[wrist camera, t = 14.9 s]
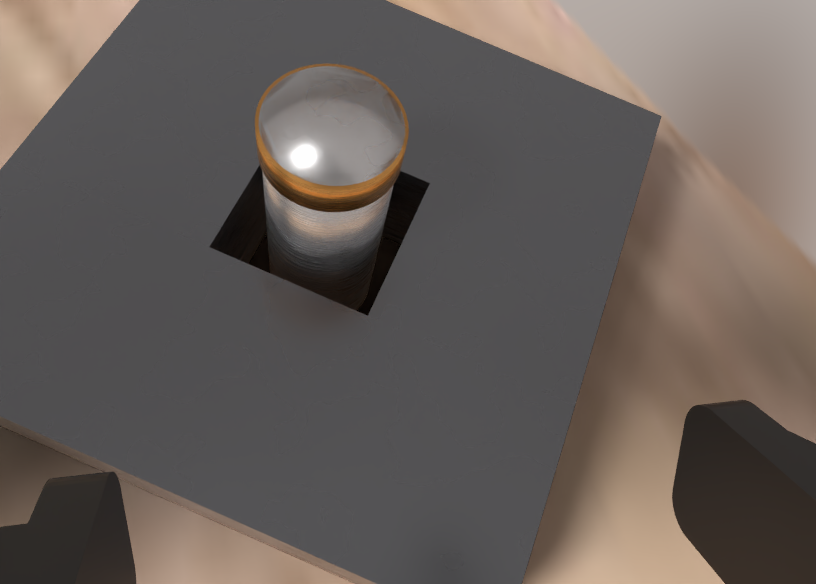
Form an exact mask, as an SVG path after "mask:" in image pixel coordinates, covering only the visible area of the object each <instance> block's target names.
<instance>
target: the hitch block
mask: <svg viewBox="0 0 816 584" xmlns="http://www.w3.org/2000/svg"><path fill="white" fill-rule="evenodd" d="M314 64H340V65H346V66H350V67H354V68H357V69H360V70H362V71H365V72H367V73H369V74H371V75H373V76H374V77H376V78H377V79H379V80H380V81H382V82H383V83H384V84H386V85H387V86H388V87H389V88H390V89H391V90H392V91H393V92H394V94H395V95H396V96H397V97H398V99H399V100H400V102H401V104H402V106H403V108H404V110H405V113H406V116H407V120H408V127H409V135H408V141H407V146H406V150H405V154H404V158H403V162H402V166H401V170H400V173H399V175H398V178H397V179H396V181H395V183H394V185H393V189H392V194H391V198H390V202H389V207H388V211H387V215H386V219H385V224H384V228H383V232H382V236H384V237H386V238H388V239H391V240H393V241H395V242H398V243H400V244H401V246H400V248H399V250H398V252H397V255H396V257H395V259H394V261H393V263H392V265H391V267H390V270H389V272H388V274H387V276H386V278H385V280H384V282H383V284H382V287H381V289H380V291H379V293H378V295H377V297H376V299H375V302H374V304H373V306H372V308H371V310H370V312H369V314H368V316H367V315H365V314H363V313H360V312H358V311H356V310H353V309H351V308H349V307H346V306H344V305H342V304H339V303H337V302H335V301H333V300H330V299H328V298H326V297H323V296H321V295H319V294H316V293H314V292H312V291H309V290H307V289H305V288H303V287H300V286H298V285H296V284H293V283H291V282H289V281H286V280H284V279H282V278H279V277H277V276H275V275H273V274H270V273H268V272H266V271H263V270H261V269H259V268H256V267H254V266H252V265H249V264H248V263H249V261H250V260H251V258H252V256H253V255H254V253H255V251H256V249H257V248H258V246H259V244H260V242H261V241H262V239H263V237H264V235H265V234H266V232H267V225H266V212H265V200H264V187H263V174H262V169H261V167H260V163H259V160H258V154H257V144H256V132H255V115H256V109H257V106H258V103H259V101H260V99H261V97H262V95H263V94H264V92H265V91H266V90H267V88H268V87H269V86H270V85H271V84H272V83H273V82H274V81H276V80H277V79H278V78H280V77H281V76H283V75H284V74H286V73H288V72H290V71H292V70H295V69H297V68H300V67H304V66H308V65H314ZM660 119H661V116H660V115H657V114H655V113H653V112H650V111H648V110H646V109H643V108H641V107H638V106H636V105H634V104H631V103H629V102H626V101H624V100H622V99H619V98H617V97H615V96H612V95H610V94H607V93H605V92H603V91H600V90H598V89H595V88H593V87H591V86H588V85H586V84H584V83H581V82H579V81H576V80H574V79H572V78H569V77H567V76H564V75H562V74H560V73H557V72H555V71H553V70H550V69H548V68H545V67H543V66H541V65H538V64H536V63H533V62H531V61H529V60H526V59H524V58H522V57H519V56H517V55H514V54H512V53H510V52H507V51H505V50H502V49H500V48H498V47H495V46H493V45H491V44H488V43H486V42H483V41H481V40H479V39H476V38H474V37H471V36H469V35H467V34H464V33H462V32H460V31H457V30H455V29H452V28H450V27H448V26H445V25H443V24H440V23H438V22H436V21H433V20H431V19H429V18H426V17H424V16H421V15H419V14H417V13H414V12H412V11H409V10H407V9H405V8H402V7H400V6H397V5H395V4H393V3H390V2H388V1H386V0H139V2H138V3H137V4H136V5H135V7H134V8H133V9H132V10H131V11H130V13H129V14H128V15H127V16H126V17H125V19H124V20H123V21H122V22H121V24H120V25H119V26H118V27H117V28H116V30H115V31H114V32H113V33H112V35H111V36H110V37H109V38H108V39H107V41H106V42H105V43H104V44H103V45H102V47H101V48H100V49H99V50H98V52H97V53H96V54H95V55H94V56H93V58H92V59H91V60H90V61H89V63H88V64H87V65H86V66H85V67H84V69H83V70H82V71H81V72H80V73H79V75H78V76H77V77H76V78H75V80H74V81H73V82H72V83H71V84H70V86H69V87H68V88H67V89H66V91H65V92H64V93H63V94H62V95H61V97H60V98H59V99H58V100H57V101H56V103H55V104H54V105H53V106H52V108H51V109H50V110H49V111H48V112H47V114H46V115H45V116H44V117H43V119H42V120H41V121H40V122H39V123H38V125H37V126H36V127H35V128H34V130H33V131H32V132H31V133H30V134H29V136H28V137H27V138H26V139H25V140H24V142H23V143H22V144H21V145H20V147H19V148H18V149H17V150H16V151H15V153H14V154H13V155H12V156H11V158H10V159H9V160H8V161H7V162H6V164H5V165H4V166H3V167H2V168H1V170H0V426H2V427H4V428H6V429H9V430H11V431H13V432H15V433H18V434H20V435H22V436H24V437H27V438H29V439H31V440H33V441H36V442H38V443H40V444H42V445H45V446H47V447H49V448H51V449H54V450H56V451H58V452H60V453H63V454H65V455H67V456H69V457H72V458H74V459H76V460H78V461H81V462H83V463H85V464H87V465H90V466H92V467H94V468H96V469H99V470H101V471H103V472H115V473H116V475H117V477H118V478H119V479H121V480H123V481H126V482H128V483H130V484H132V485H135V486H137V487H139V488H141V489H144V490H146V491H148V492H150V493H153V494H155V495H157V496H159V497H162V498H164V499H166V500H168V501H171V502H173V503H175V504H177V505H180V506H182V507H184V508H186V509H188V510H191V511H193V512H195V513H197V514H200V515H202V516H204V517H206V518H209V519H211V520H213V521H215V522H218V523H220V524H222V525H224V526H227V527H229V528H231V529H233V530H236V531H238V532H240V533H242V534H245V535H247V536H249V537H251V538H254V539H256V540H258V541H260V542H263V543H265V544H267V545H269V546H272V547H274V548H276V549H278V550H281V551H283V552H285V553H287V554H290V555H292V556H294V557H296V558H299V559H301V560H303V561H305V562H308V563H310V564H312V565H314V566H317V567H319V568H321V569H323V570H326V571H328V572H330V573H332V574H335V575H337V576H339V577H341V578H344V579H346V580H348V581H350V582H353V583H355V584H522V582H523V578H524V575H525V572H526V568H527V565H528V561H529V558H530V555H531V551H532V548H533V545H534V541H535V538H536V535H537V531H538V528H539V525H540V521H541V518H542V515H543V511H544V508H545V505H546V501H547V498H548V494H549V491H550V488H551V484H552V481H553V478H554V474H555V471H556V468H557V464H558V461H559V458H560V454H561V451H562V448H563V444H564V441H565V438H566V434H567V431H568V427H569V424H570V421H571V417H572V414H573V411H574V407H575V404H576V401H577V397H578V394H579V391H580V387H581V384H582V381H583V377H584V374H585V371H586V367H587V364H588V360H589V357H590V354H591V350H592V347H593V344H594V340H595V337H596V334H597V330H598V327H599V324H600V320H601V317H602V314H603V310H604V307H605V304H606V300H607V297H608V293H609V290H610V287H611V283H612V280H613V277H614V273H615V270H616V267H617V263H618V260H619V257H620V253H621V250H622V247H623V243H624V240H625V237H626V233H627V230H628V227H629V223H630V220H631V216H632V213H633V210H634V206H635V203H636V200H637V196H638V193H639V190H640V186H641V183H642V180H643V176H644V173H645V170H646V166H647V163H648V160H649V156H650V153H651V149H652V146H653V143H654V139H655V136H656V133H657V129H658V126H659V123H660Z"/></svg>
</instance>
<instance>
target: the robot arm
mask: <svg viewBox="0 0 816 584" xmlns="http://www.w3.org/2000/svg"><path fill="white" fill-rule="evenodd" d="M672 500H673V508H674V512H675V516H676V519H677V521H678V524H679V526H680V528H681V530H682V531H683V533H684V534H685V536H686V537H687V538H688V540H689V541H690V542H691V543H692V544H693V546H694V547H695V548H696V549H697V550H698V552H699V553H700V554H701V555H702V556H703V558H704V559H705V560H706V561H707V562H708V564H709V565H710V566H711V567H712V568H713V570H714V571H715V572H716V573H717V574H718V576H719V577H720V578H721V579H722V580H723V582H724V583H725V584H816V444H815V443H813V442H811V441H808V440H806V439H804V438H802V437H800V436H798V435H796V434H794V433H792V432H790V431H787V430H786V429H785V428H784V427H782V426H781V425H780V424H778V423H777V422H776V421H775V420H773V419H772V418H771V417H769V416H768V415H767V414H766V413H764V412H763V411H762V410H760V409H759V408H758V407H757V406H755V405H754V404H752V403H751V402H749V401H746V400H738V401H729V402H721V403H712V404H704V405H696V406H694V407H692V408H691V409H690V410H689V412H688V414H687V416H686V419H685V424H684V429H683V435H682V441H681V446H680V452H679V458H678V463H677V469H676V475H675V480H674V486H673V493H672ZM0 584H136V573H135V565H134V559H133V554H132V548H131V543H130V537H129V532H128V526H127V521H126V516H125V510H124V505H123V499H122V494H121V488H120V484H119V480H118V477H117V475H116V473H115V472H104V473H95V474H87V475H78V476H69V477H61V478H52V479H49V480H48V481H47V482H46V484H45V486H44V488H43V490H42V492H41V495H40V497H39V499H38V502H37V504H36V506H35V509H34V511H33V513H32V515H31V518H30V520H29V522H28V524H20V525H13V526H5V527H0Z"/></svg>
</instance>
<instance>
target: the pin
mask: <svg viewBox="0 0 816 584" xmlns="http://www.w3.org/2000/svg"><path fill="white" fill-rule="evenodd" d="M255 132H256V144H257V154H258V160H259V163H260V167H261V169H262V174H263V187H264V200H265V212H266V225H267V238H268V251H269V264H270V274H273V275H275V276H277V277H279V278H282V279H284V280H286V281H289V282H291V283H293V284H296V285H298V286H300V287H303V288H305V289H307V290H309V291H312V292H314V293H316V294H319V295H321V296H323V297H326V298H328V299H330V300H333V301H335V302H337V303H339V304H342V305H344V306H346V307H349V308H351V309H353V310H357V309H358V308H359V307H360V306H361V305H362V303H363V302H364V300H365V299H366V297H367V294H368V292H369V287H370V283H371V279H372V275H373V270H374V266H375V262H376V258H377V253H378V249H379V245H380V241H381V236H382V232H383V228H384V224H385V219H386V215H387V211H388V207H389V202H390V198H391V194H392V189H393V185H394V183H395V181H396V179H397V178H398V175H399V173H400V170H401V166H402V162H403V158H404V154H405V150H406V146H407V141H408V135H409V127H408V120H407V116H406V113H405V110H404V108H403V106H402V104H401V102H400V100H399V99H398V97H397V96H396V95H395V94H394V92H393V91H392V90H391V89H390V88H389V87H388V86H387V85H386V84H384V83H383V82H382V81H380V80H379V79H377V78H376V77H374V76H373V75H371V74H369V73H367V72H365V71H362V70H360V69H357V68H354V67H350V66H346V65H340V64H314V65H308V66H304V67H300V68H297V69H295V70H292V71H290V72H288V73H286V74H284V75H283V76H281V77H280V78H278V79H277V80H276V81H274V82H273V83H272V84H271V85H270V86H269V87H268V88H267V90H266V91H265V92H264V94H263V95H262V97H261V99H260V101H259V103H258V106H257V109H256V115H255Z"/></svg>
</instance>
